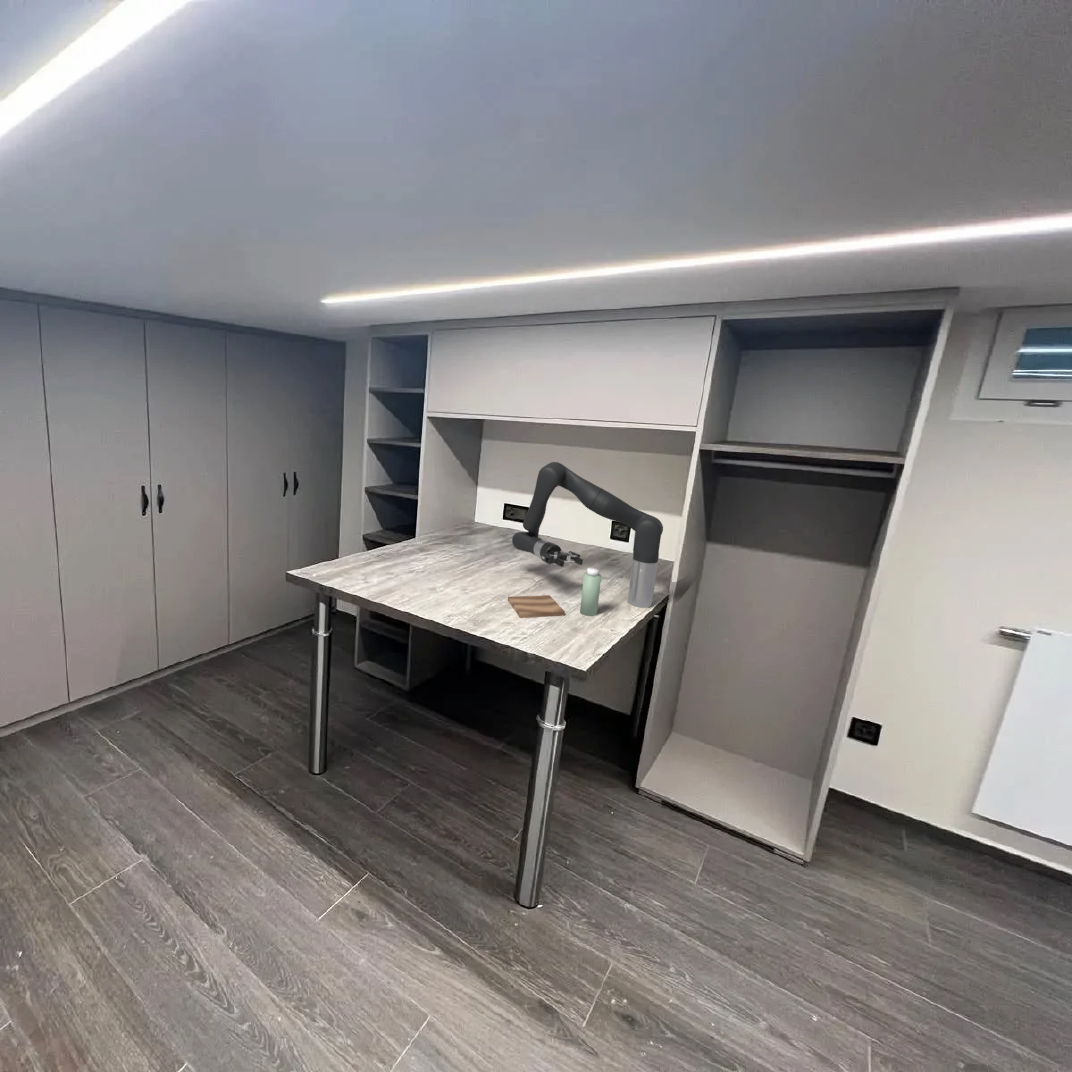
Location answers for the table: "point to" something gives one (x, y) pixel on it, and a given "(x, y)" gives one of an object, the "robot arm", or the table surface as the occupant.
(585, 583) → the bottle
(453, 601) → the table surface
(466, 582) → the table surface
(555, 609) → the brown wooden flat square
